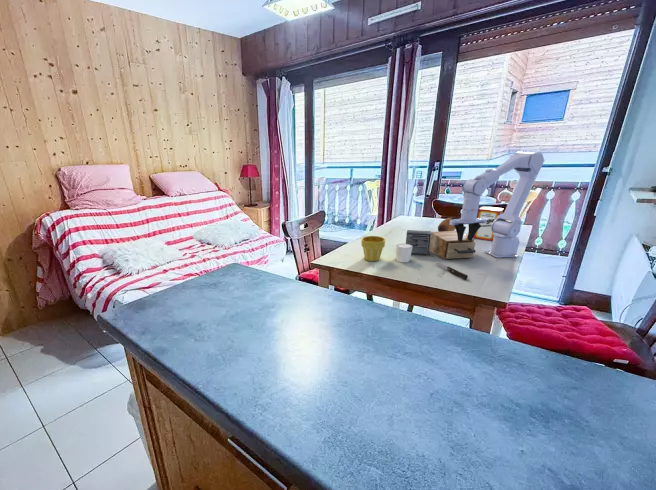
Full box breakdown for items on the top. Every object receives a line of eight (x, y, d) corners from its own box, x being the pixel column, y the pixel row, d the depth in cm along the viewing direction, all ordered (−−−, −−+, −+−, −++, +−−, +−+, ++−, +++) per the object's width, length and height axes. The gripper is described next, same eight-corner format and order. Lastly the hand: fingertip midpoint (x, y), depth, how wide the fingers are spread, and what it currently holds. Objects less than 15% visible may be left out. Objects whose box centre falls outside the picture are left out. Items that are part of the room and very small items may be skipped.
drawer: (479, 260, 141) (481, 245, 138) (452, 262, 141) (455, 247, 138) (456, 247, 157) (458, 234, 155) (433, 249, 157) (434, 235, 155)
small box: (428, 251, 157) (431, 230, 154) (428, 255, 152) (431, 234, 148) (405, 249, 162) (407, 229, 158) (404, 253, 156) (406, 232, 152)
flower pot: (371, 264, 146) (372, 243, 142) (356, 258, 155) (356, 238, 151) (388, 259, 150) (390, 239, 147) (372, 253, 159) (373, 234, 155)
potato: (443, 241, 180) (431, 231, 182) (454, 230, 187) (442, 221, 189) (452, 232, 174) (439, 222, 176) (462, 221, 180) (450, 212, 183)
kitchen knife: (467, 280, 126) (468, 275, 125) (465, 280, 125) (466, 275, 125) (436, 264, 142) (436, 260, 141) (434, 264, 142) (434, 260, 141)
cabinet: (471, 257, 147) (474, 239, 144) (443, 259, 147) (445, 240, 144) (453, 247, 161) (456, 230, 158) (428, 249, 161) (430, 232, 158)
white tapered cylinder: (408, 263, 144) (410, 248, 142) (393, 261, 148) (394, 246, 146) (413, 259, 149) (414, 244, 147) (397, 256, 153) (399, 242, 151)
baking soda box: (497, 238, 170) (503, 207, 164) (493, 241, 166) (500, 210, 160) (476, 235, 177) (482, 205, 171) (473, 238, 173) (478, 208, 166)
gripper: (481, 206, 139) (475, 236, 144) (447, 208, 139) (443, 238, 144) (492, 209, 133) (485, 241, 138) (456, 211, 133) (451, 243, 138)
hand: (464, 240), depth 141 cm, fingers open, 4 cm apart
